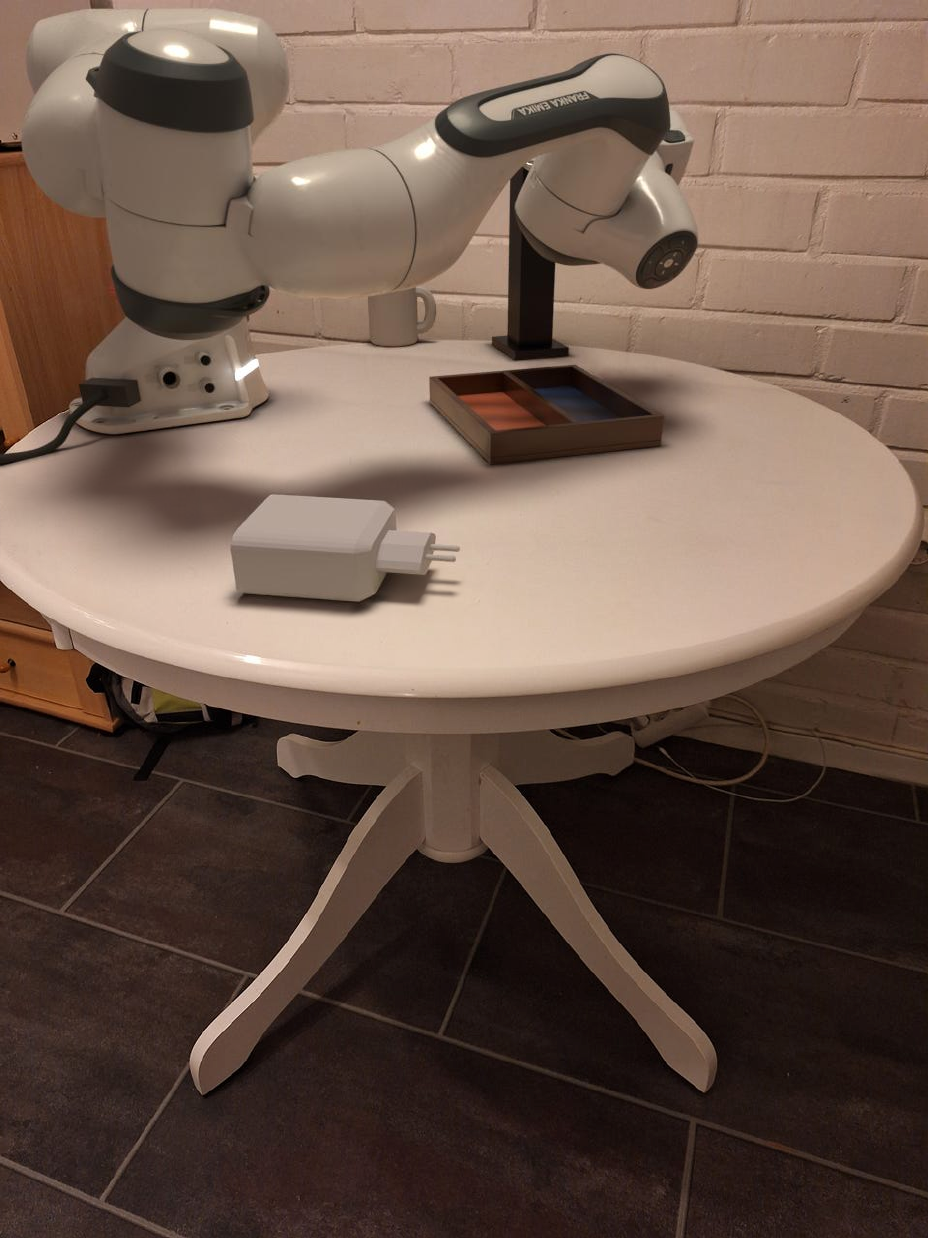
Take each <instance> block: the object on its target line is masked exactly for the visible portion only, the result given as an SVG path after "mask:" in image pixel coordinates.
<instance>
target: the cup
mask: <svg viewBox="0 0 928 1238" xmlns="http://www.w3.org/2000/svg"><path fill="white" fill-rule="evenodd" d="M418 298H421V299H422V300H423V304H424V311H425V313H424V317H423V321H420V322H419V321H418V320H419V319H418ZM367 310H368V327H369V329H368V330H369V340H370V343H372V344H373V345H375V346H380V347H390V348H391V347H392V348H393V347H405V346H411V345H414V344H416V343H417V342H418V339H419V335H420V334H421V335H422V334H425V333H428V332H429V331H430V330H431V329H432V328H433V326H434V325H435V322H436V317H437V304H436V299H435V297H434V295H433V293H432V292H431V290H429V289H428V288H427V287H425V286H423V285H420V286H417V287H414V288H411V289H407V290H403V291H397V292H392V293H386V294H380V295H374V296H368V297H367Z"/></svg>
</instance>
